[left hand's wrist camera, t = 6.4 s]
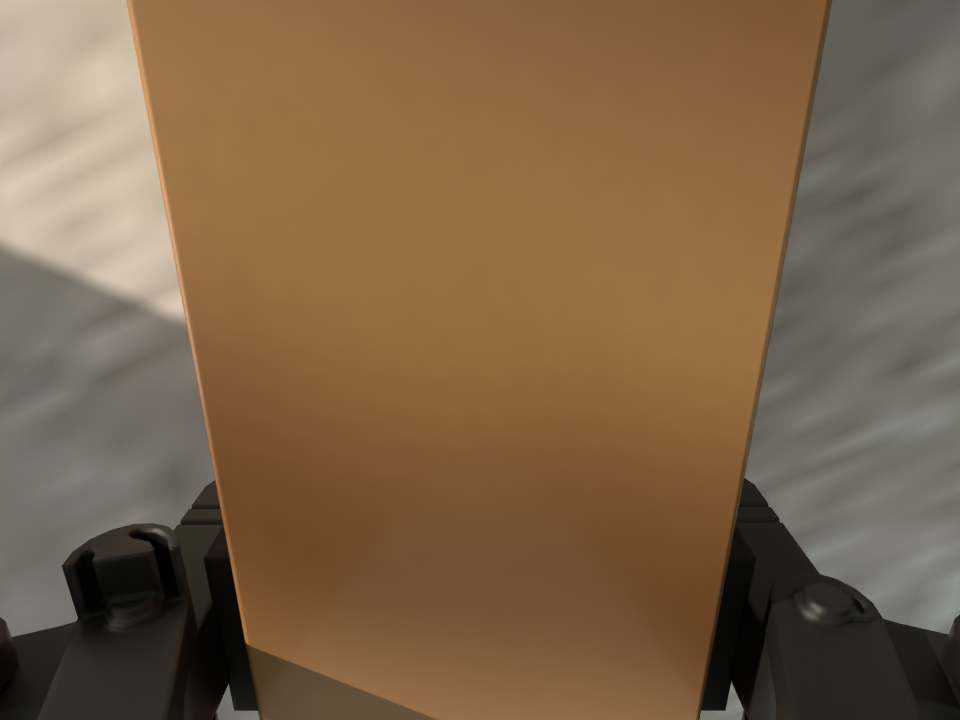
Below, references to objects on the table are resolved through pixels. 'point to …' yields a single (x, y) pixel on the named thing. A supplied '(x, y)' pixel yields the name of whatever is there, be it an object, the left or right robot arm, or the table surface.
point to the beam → (479, 332)
